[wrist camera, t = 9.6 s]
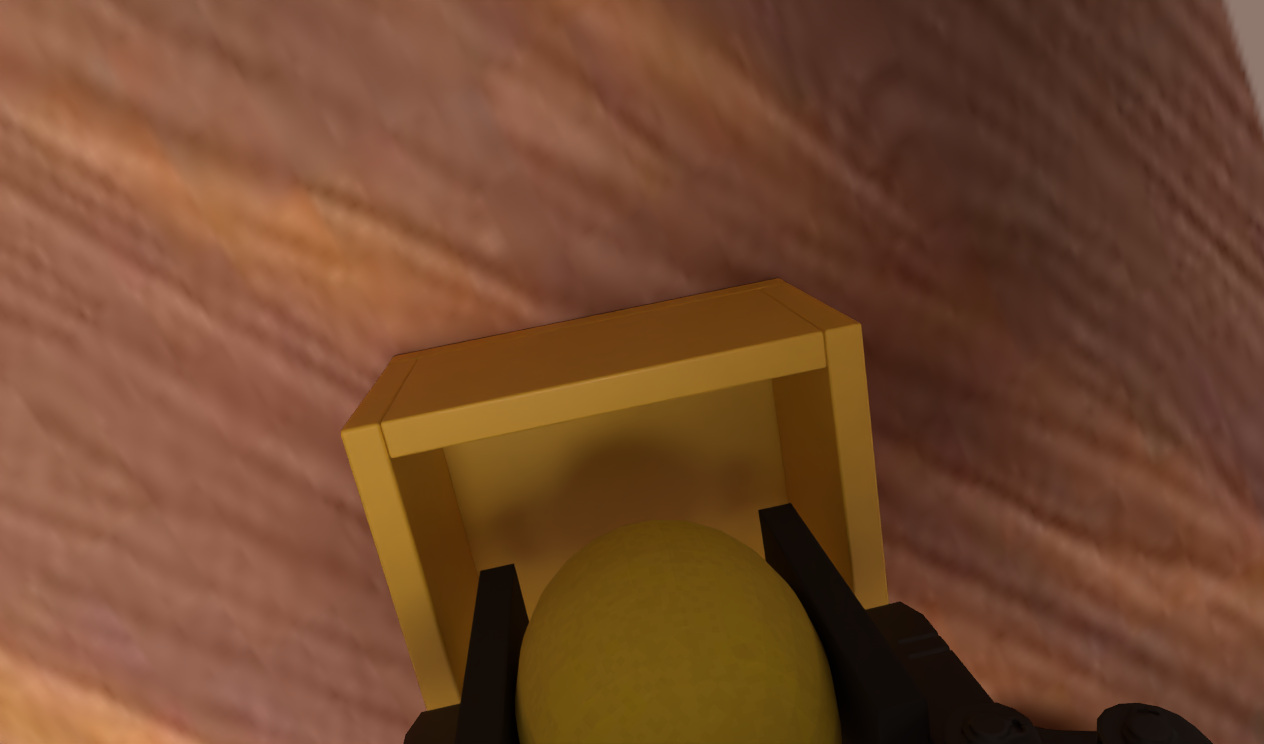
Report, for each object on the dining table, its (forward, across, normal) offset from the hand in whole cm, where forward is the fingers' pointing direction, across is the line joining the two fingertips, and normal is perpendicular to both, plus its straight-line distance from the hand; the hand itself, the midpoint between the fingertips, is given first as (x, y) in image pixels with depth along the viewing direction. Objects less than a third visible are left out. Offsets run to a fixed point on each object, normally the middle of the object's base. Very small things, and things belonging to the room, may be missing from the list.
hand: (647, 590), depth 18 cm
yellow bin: (+5, 0, 0) cm, 5 cm away
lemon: (+1, 0, 0) cm, 1 cm away
